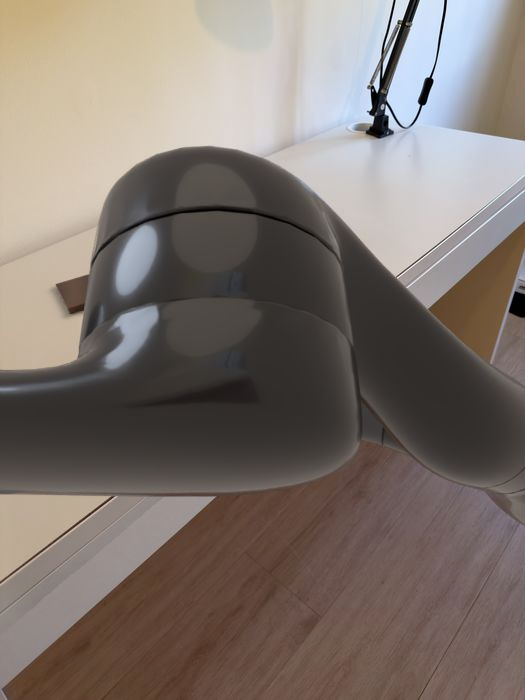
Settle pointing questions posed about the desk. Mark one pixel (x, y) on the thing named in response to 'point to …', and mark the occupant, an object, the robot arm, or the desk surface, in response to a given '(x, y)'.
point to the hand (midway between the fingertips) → (193, 336)
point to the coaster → (74, 293)
